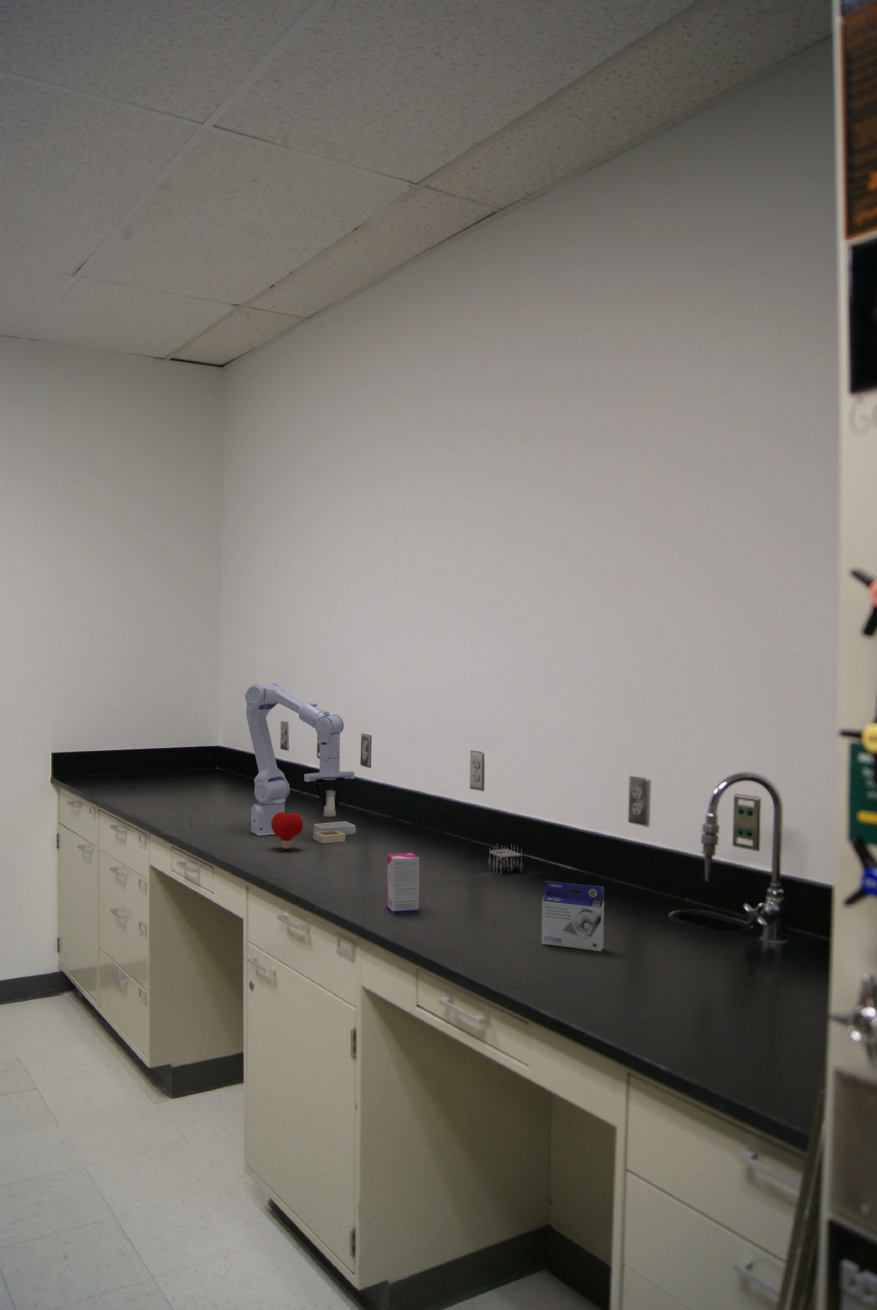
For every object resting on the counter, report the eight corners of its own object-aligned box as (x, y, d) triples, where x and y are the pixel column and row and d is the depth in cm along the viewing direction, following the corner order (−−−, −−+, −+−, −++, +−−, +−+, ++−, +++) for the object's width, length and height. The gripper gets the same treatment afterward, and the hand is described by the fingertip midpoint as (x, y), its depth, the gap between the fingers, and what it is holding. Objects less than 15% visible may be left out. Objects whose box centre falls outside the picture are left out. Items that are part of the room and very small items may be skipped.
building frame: (500, 875, 236) (500, 850, 236) (485, 868, 243) (485, 844, 243) (522, 872, 238) (523, 848, 238) (507, 865, 246) (507, 842, 245)
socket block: (322, 843, 272) (322, 836, 272) (313, 839, 278) (313, 832, 278) (345, 841, 275) (345, 834, 275) (336, 836, 281) (336, 829, 281)
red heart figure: (308, 848, 265) (308, 812, 265) (294, 853, 258) (294, 816, 258) (280, 845, 269) (280, 809, 268) (265, 850, 262) (265, 813, 262)
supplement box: (419, 912, 202) (420, 857, 202) (392, 914, 201) (392, 859, 201) (412, 905, 208) (412, 851, 208) (385, 907, 206) (385, 853, 206)
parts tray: (323, 837, 281) (323, 828, 281) (313, 832, 288) (313, 824, 288) (355, 834, 285) (355, 825, 285) (345, 829, 292) (345, 821, 292)
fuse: (326, 816, 275) (326, 792, 275) (321, 815, 278) (321, 790, 278) (337, 816, 276) (337, 791, 276) (332, 814, 279) (332, 789, 279)
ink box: (540, 945, 180) (540, 883, 180) (543, 941, 183) (544, 880, 183) (602, 952, 176) (602, 889, 176) (604, 948, 179) (605, 886, 178)
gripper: (310, 760, 270) (310, 809, 270) (358, 757, 277) (358, 805, 277) (301, 757, 276) (301, 805, 276) (349, 755, 283) (349, 801, 283)
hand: (329, 805), depth 277 cm, fingers closed on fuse, 3 cm apart
